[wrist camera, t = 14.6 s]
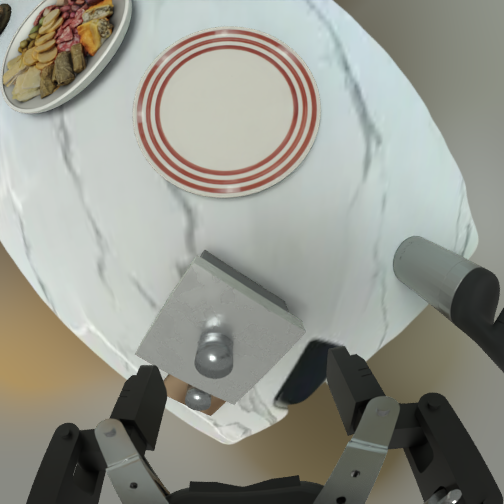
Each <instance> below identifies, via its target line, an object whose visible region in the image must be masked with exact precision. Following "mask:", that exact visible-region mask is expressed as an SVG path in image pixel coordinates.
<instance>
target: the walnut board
mask: <svg viewBox="0 0 504 504" xmlns="http://www.w3.org/2000/svg"><path fill="white" fill-rule="evenodd" d="M163 382H164V384H165V387H166V390H167V396H168V397H170V398H172V399H174V400H176V401H178V402H180V403H183V404H185V397H186V391H187V386H188V383H186V382H184V381H182V380H180V379H178V378H176V377H174V376H172V375H170V374H168V376H167V377H166V378H165V380H164V381H163ZM225 402H226V401H224V400H222V399H220V398H217V397H215V396H213V395H212V396H211V406H210V407H209V408H208V409H206V410H203V411H200V412H203V413H205V414H207V415H210V416H211V415H212V414H213V413H215V412H216V411H217V410H218V409H219V408H220V407H221V406H222V405H223V404H224V403H225ZM185 405H186V404H185Z"/></svg>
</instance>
